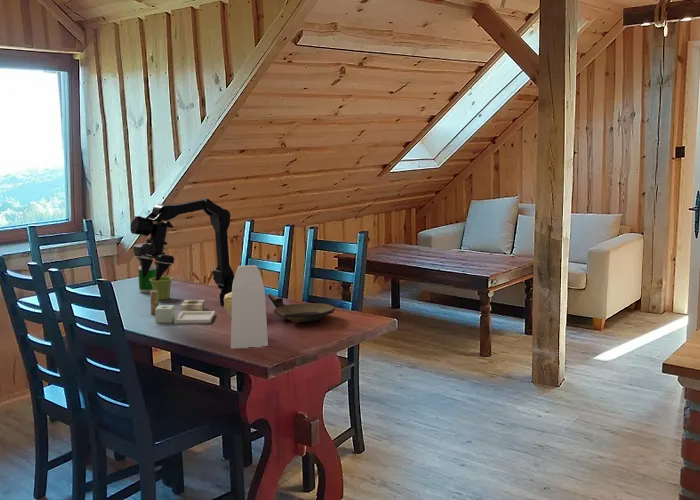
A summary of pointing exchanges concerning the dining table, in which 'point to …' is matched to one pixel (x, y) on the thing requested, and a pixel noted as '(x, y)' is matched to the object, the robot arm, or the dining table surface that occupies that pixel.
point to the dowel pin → (154, 301)
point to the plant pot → (162, 287)
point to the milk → (248, 309)
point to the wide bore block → (193, 305)
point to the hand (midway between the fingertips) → (150, 278)
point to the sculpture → (228, 303)
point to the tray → (194, 317)
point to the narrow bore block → (164, 313)
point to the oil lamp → (301, 310)
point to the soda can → (146, 279)
